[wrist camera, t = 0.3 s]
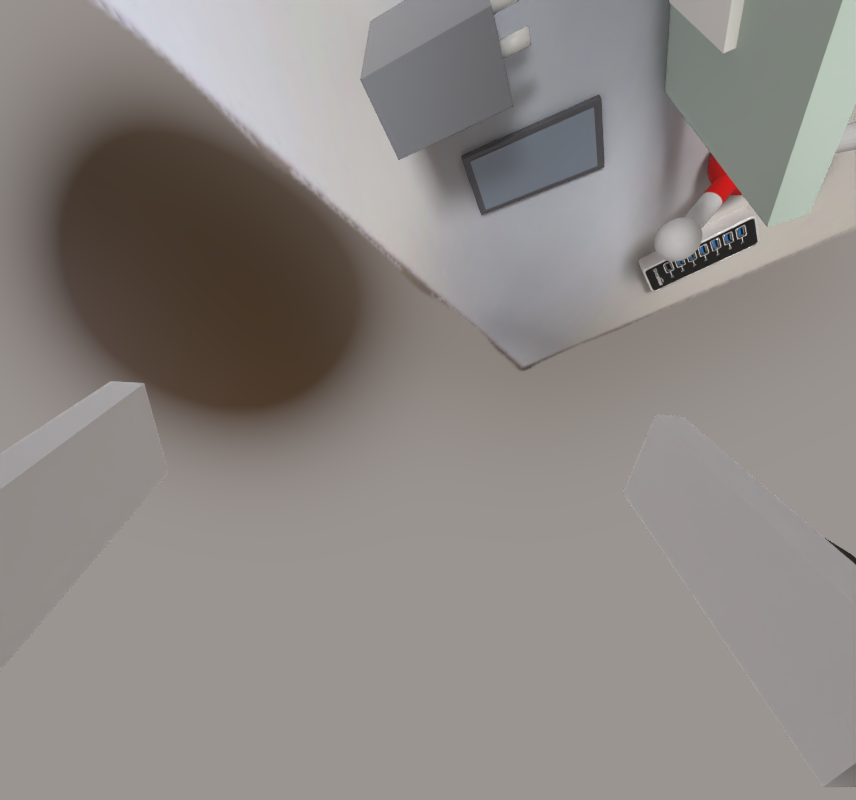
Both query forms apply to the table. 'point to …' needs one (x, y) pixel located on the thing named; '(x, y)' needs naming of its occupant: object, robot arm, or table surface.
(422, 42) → the plug
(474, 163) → the phone slab
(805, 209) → the board
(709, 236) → the multiport hub
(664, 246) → the molecular model
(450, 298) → the table surface
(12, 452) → the robot arm
